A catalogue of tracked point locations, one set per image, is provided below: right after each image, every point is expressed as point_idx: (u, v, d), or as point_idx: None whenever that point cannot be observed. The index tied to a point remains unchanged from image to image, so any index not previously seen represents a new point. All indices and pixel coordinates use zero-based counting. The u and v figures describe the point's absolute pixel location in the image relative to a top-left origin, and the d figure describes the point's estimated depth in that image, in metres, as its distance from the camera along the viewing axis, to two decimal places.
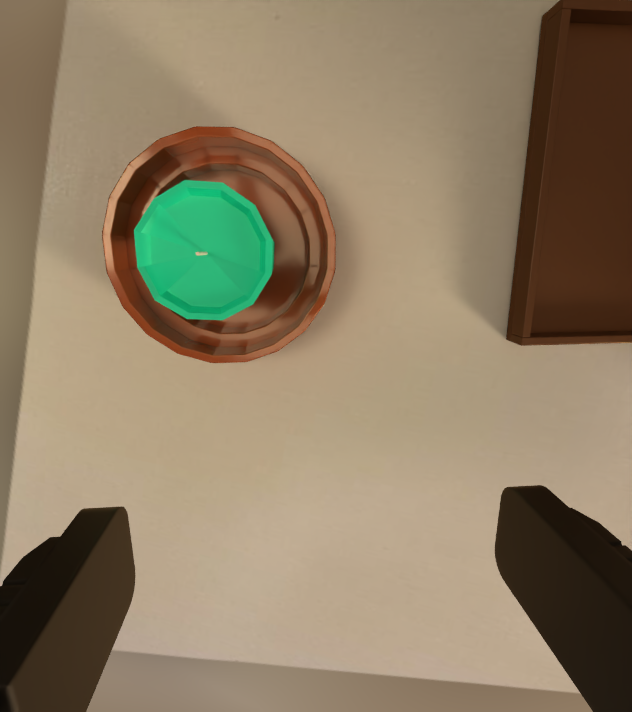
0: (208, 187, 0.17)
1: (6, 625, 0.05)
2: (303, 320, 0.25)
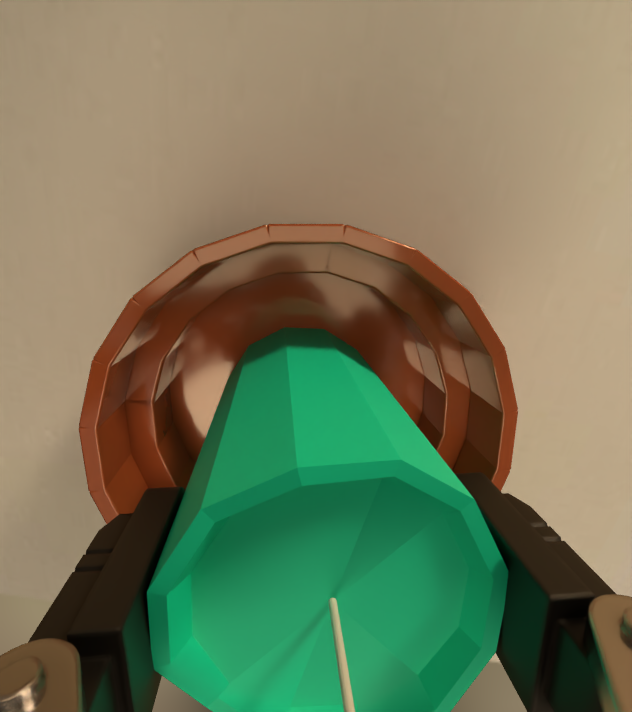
0: (165, 618, 0.06)
1: (106, 583, 0.06)
2: (448, 295, 0.12)
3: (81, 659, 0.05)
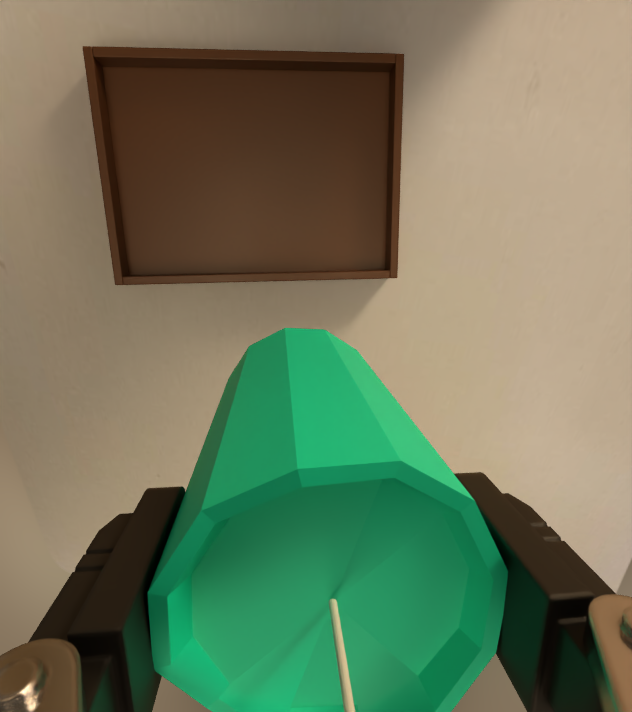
0: (165, 619, 0.06)
1: (106, 583, 0.06)
2: None
3: (81, 659, 0.05)
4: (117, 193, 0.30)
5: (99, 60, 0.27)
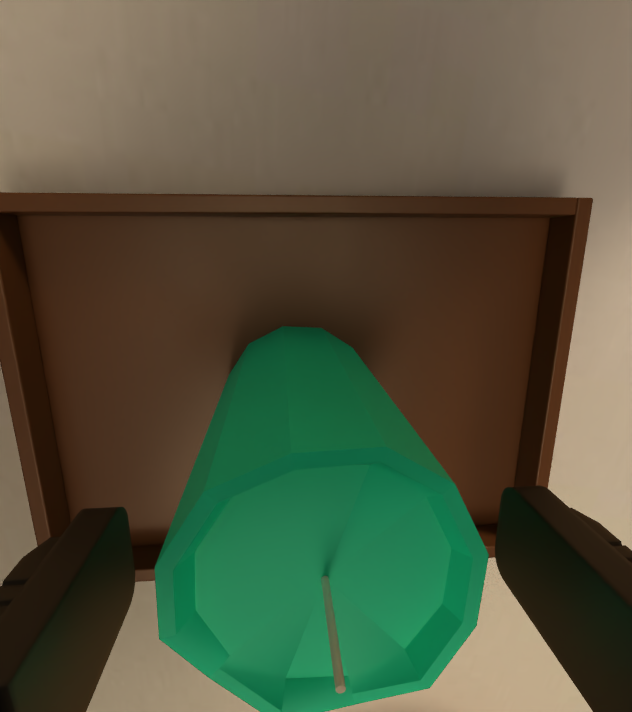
0: (170, 592, 0.07)
1: (6, 625, 0.05)
2: None
3: None
4: (50, 429, 0.17)
5: (5, 213, 0.14)
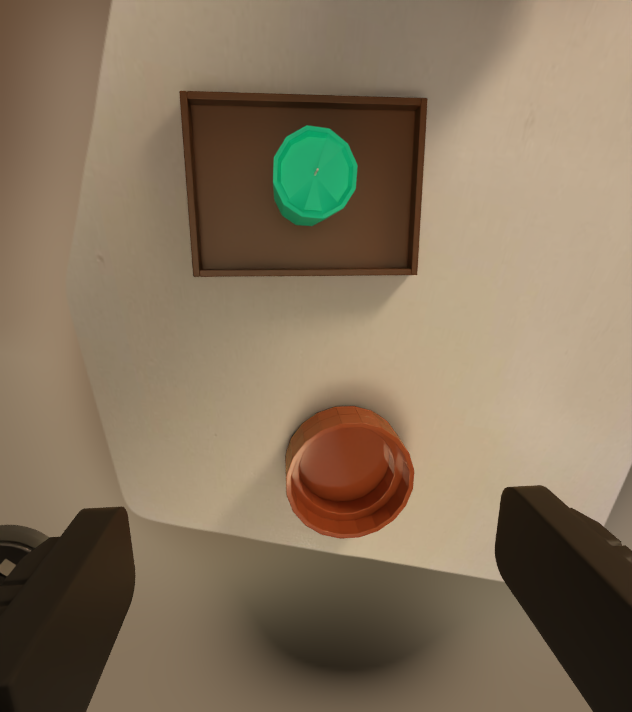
0: (276, 167, 0.28)
1: (6, 625, 0.05)
2: (391, 439, 0.41)
3: None
4: (197, 203, 0.38)
5: (190, 101, 0.35)
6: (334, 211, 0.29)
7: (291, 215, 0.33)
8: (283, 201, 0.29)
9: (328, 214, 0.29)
